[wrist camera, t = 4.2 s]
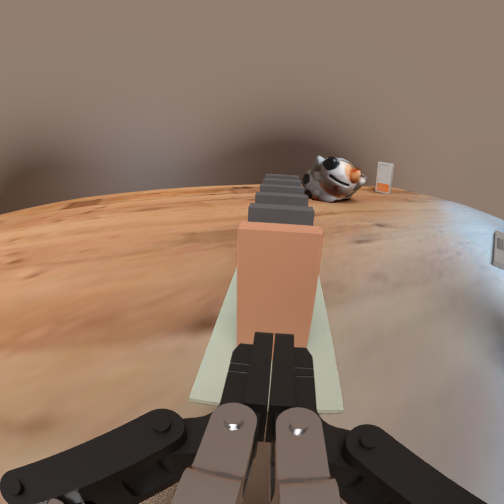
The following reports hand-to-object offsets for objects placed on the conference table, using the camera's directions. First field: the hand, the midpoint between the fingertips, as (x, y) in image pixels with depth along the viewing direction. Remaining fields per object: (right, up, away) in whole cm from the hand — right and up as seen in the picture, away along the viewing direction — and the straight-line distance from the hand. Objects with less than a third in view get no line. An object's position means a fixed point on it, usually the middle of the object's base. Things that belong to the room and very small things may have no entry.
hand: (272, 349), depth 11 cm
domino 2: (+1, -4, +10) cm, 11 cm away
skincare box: (+51, +27, +92) cm, 108 cm away
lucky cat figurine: (+23, +19, +70) cm, 76 cm away
